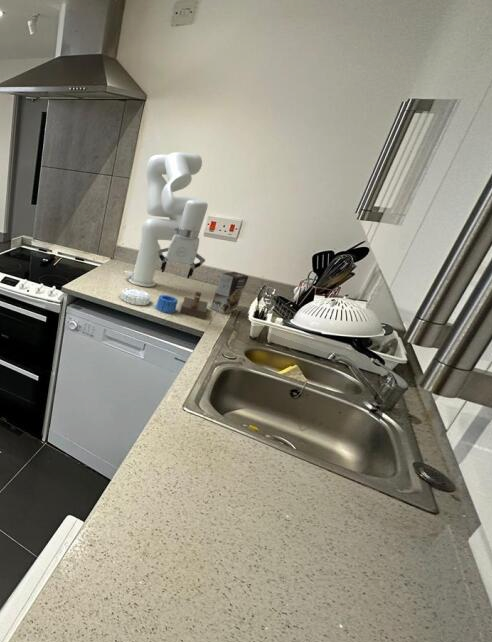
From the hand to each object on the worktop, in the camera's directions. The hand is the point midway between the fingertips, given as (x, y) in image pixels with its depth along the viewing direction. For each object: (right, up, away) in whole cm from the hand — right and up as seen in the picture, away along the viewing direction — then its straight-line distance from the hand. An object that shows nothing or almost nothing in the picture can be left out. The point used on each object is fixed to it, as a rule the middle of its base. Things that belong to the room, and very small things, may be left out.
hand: (175, 274), depth 158 cm
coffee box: (+26, -15, +10) cm, 31 cm away
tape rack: (+11, -15, +6) cm, 19 cm away
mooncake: (-12, -10, +13) cm, 20 cm away
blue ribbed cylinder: (-2, -14, +5) cm, 15 cm away
